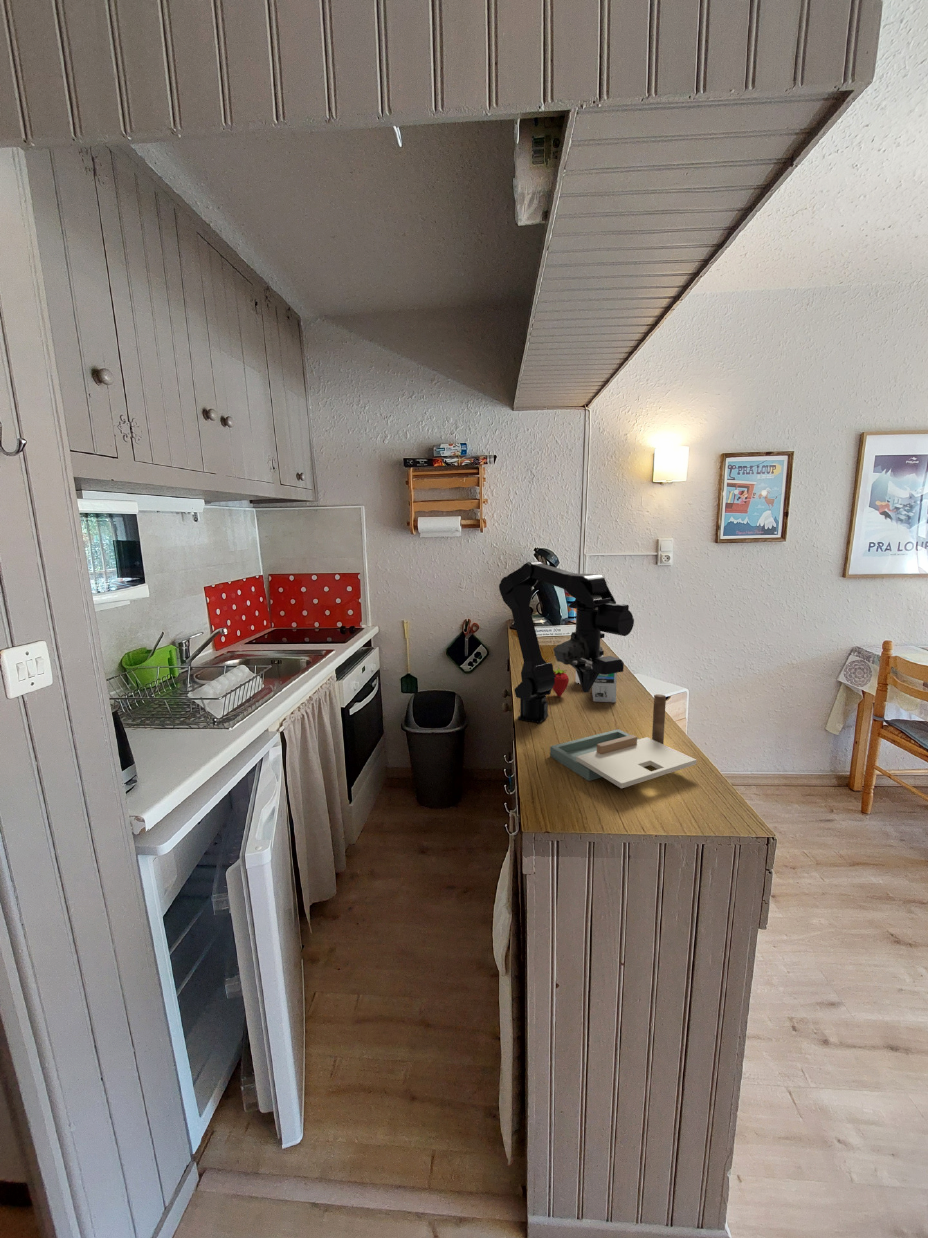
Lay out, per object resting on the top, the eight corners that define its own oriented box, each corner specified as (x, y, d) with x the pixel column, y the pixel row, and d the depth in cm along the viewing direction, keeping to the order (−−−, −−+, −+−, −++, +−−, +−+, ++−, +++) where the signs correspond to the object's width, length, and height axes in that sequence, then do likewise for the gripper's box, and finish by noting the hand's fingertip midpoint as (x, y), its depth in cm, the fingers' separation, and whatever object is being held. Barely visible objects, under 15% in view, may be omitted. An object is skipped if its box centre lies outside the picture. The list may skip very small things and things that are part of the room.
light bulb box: (616, 703, 146) (617, 667, 144) (592, 702, 147) (593, 666, 145) (613, 691, 156) (614, 658, 154) (591, 690, 157) (591, 657, 155)
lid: (576, 760, 104) (576, 748, 103) (646, 741, 112) (647, 729, 112) (621, 788, 92) (621, 774, 92) (696, 764, 101) (697, 751, 100)
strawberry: (550, 700, 149) (550, 668, 147) (547, 692, 156) (547, 661, 155) (570, 700, 149) (571, 668, 147) (566, 692, 156) (566, 661, 154)
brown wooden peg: (649, 747, 116) (651, 695, 114) (657, 745, 117) (659, 693, 115) (657, 751, 113) (660, 698, 111) (665, 749, 114) (668, 696, 112)
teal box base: (550, 756, 112) (550, 746, 112) (617, 738, 121) (618, 729, 120) (588, 781, 101) (588, 770, 100) (660, 759, 109) (660, 749, 109)
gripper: (536, 625, 122) (535, 686, 124) (586, 640, 105) (584, 710, 108) (573, 620, 126) (571, 680, 129) (627, 635, 110) (623, 702, 113)
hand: (585, 692), depth 120 cm, fingers closed
